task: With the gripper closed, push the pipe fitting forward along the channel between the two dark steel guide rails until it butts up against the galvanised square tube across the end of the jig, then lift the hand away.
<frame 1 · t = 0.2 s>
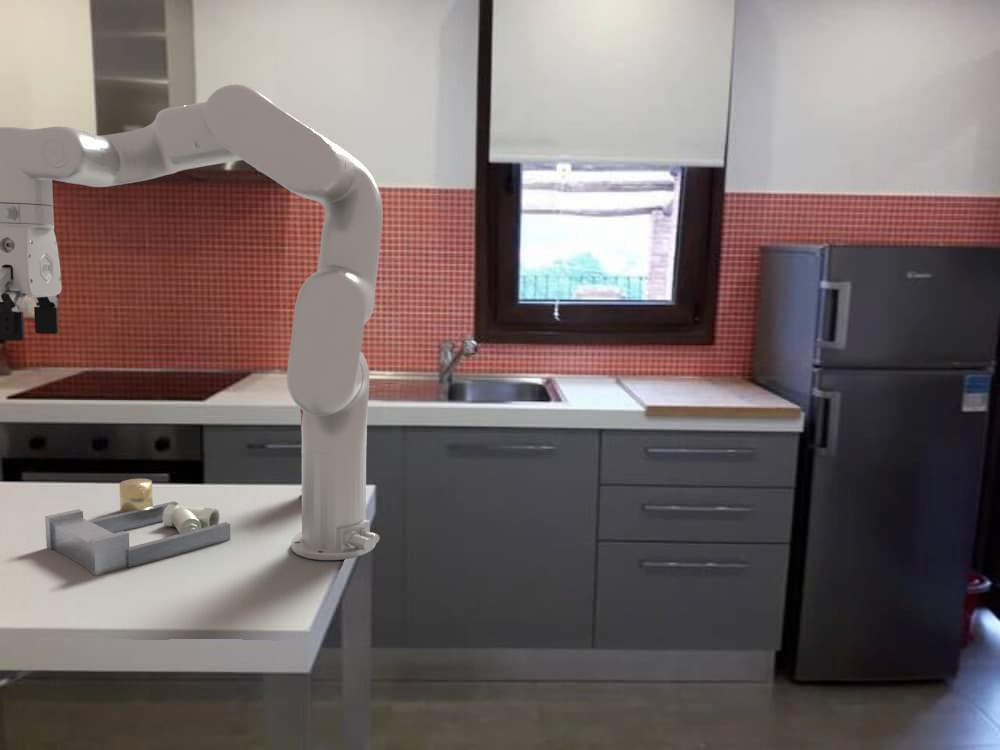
hand: (30, 336, 119), 31 cm above the table, tool pointing down, fingers open, 9 cm apart
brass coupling: (136, 511, 138), on the table
pipe jig: (153, 539, 125), on the table
liquor: (320, 497, 150), on the table
pipe fitting: (185, 533, 129), on the table
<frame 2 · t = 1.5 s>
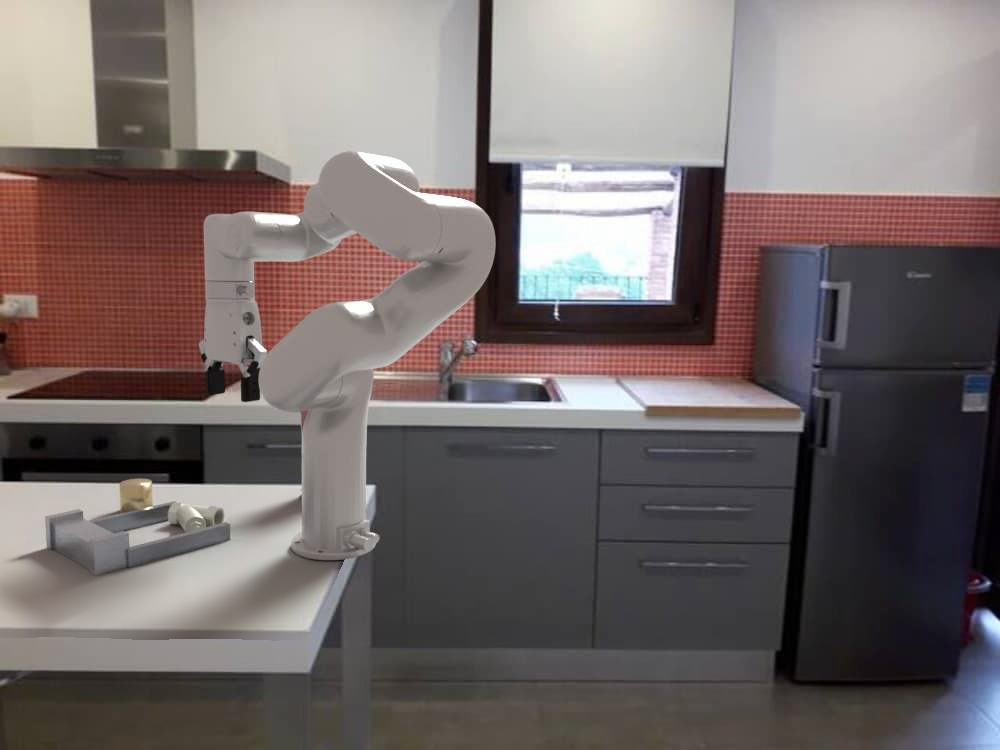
hand: (232, 397, 133), 20 cm above the table, tool pointing down, fingers open, 9 cm apart
pipe fitting: (190, 531, 130), on the table
everything else where it was.
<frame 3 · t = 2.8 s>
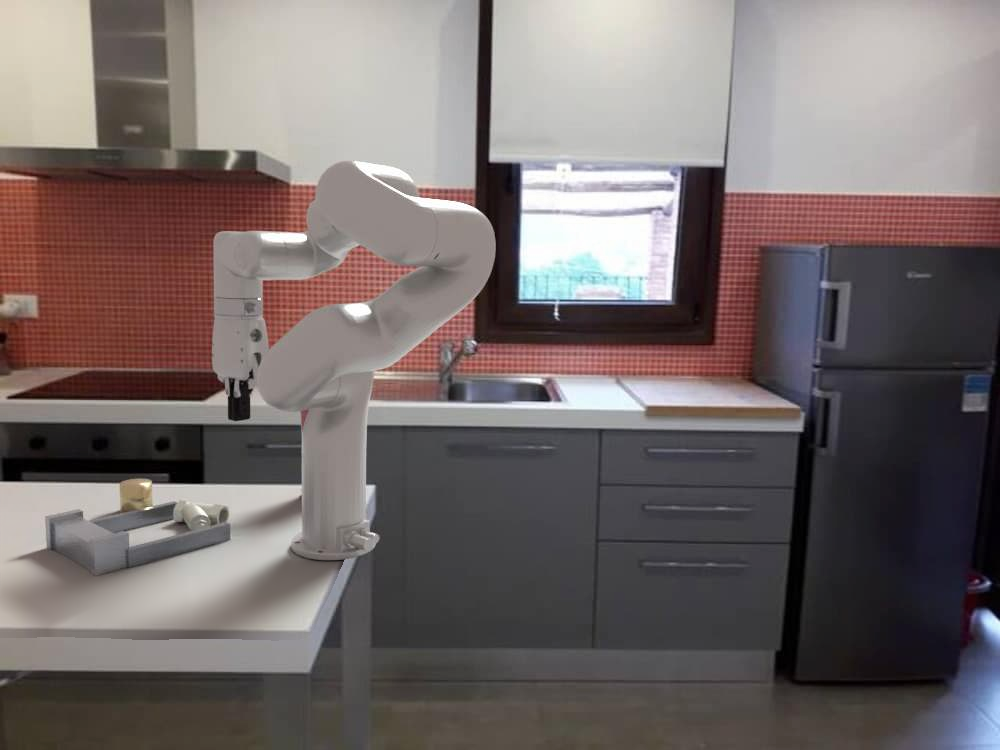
hand: (239, 419, 135), 17 cm above the table, tool pointing down, fingers closed
pipe fitting: (195, 529, 131), on the table
everything else where it was.
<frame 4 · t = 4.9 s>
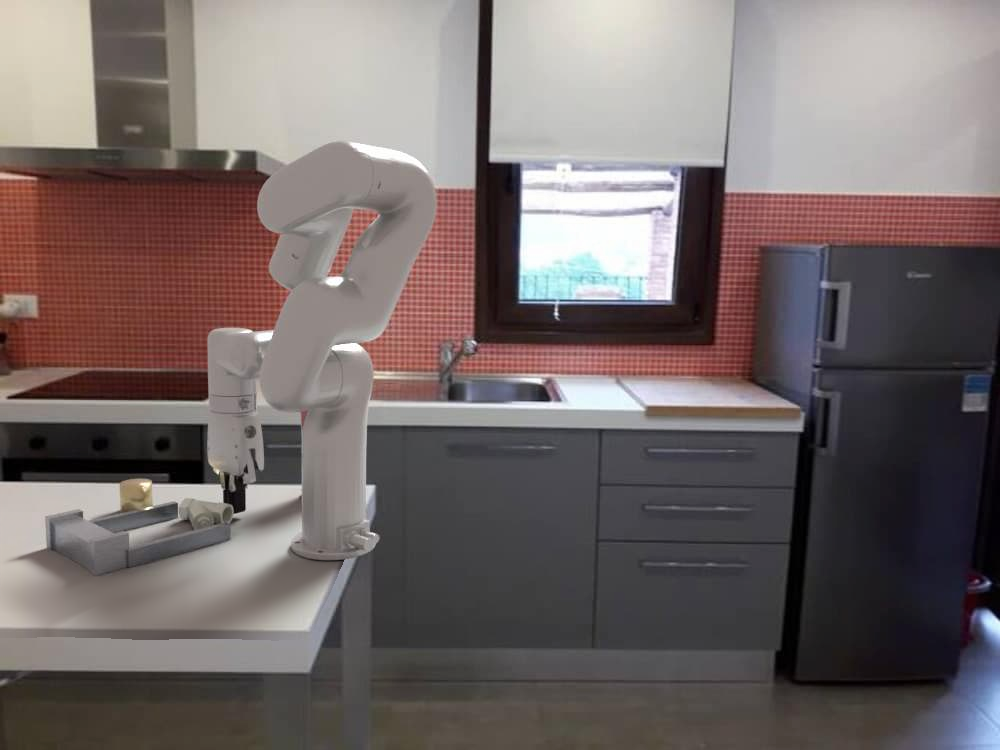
hand: (234, 511, 136), 1 cm above the table, tool pointing down, fingers closed
pipe fitting: (200, 527, 132), on the table
everything else where it was.
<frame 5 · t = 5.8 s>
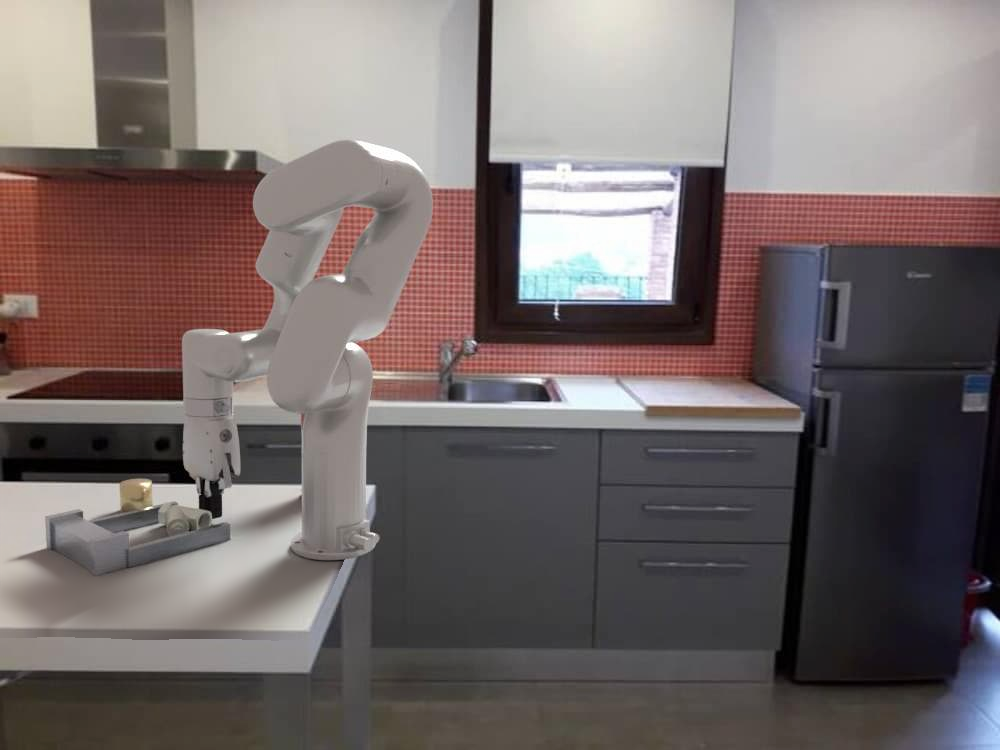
hand: (210, 517, 133), 1 cm above the table, tool pointing down, fingers closed
pipe fitting: (177, 533, 129), on the table, touching gripper
everything else where it was.
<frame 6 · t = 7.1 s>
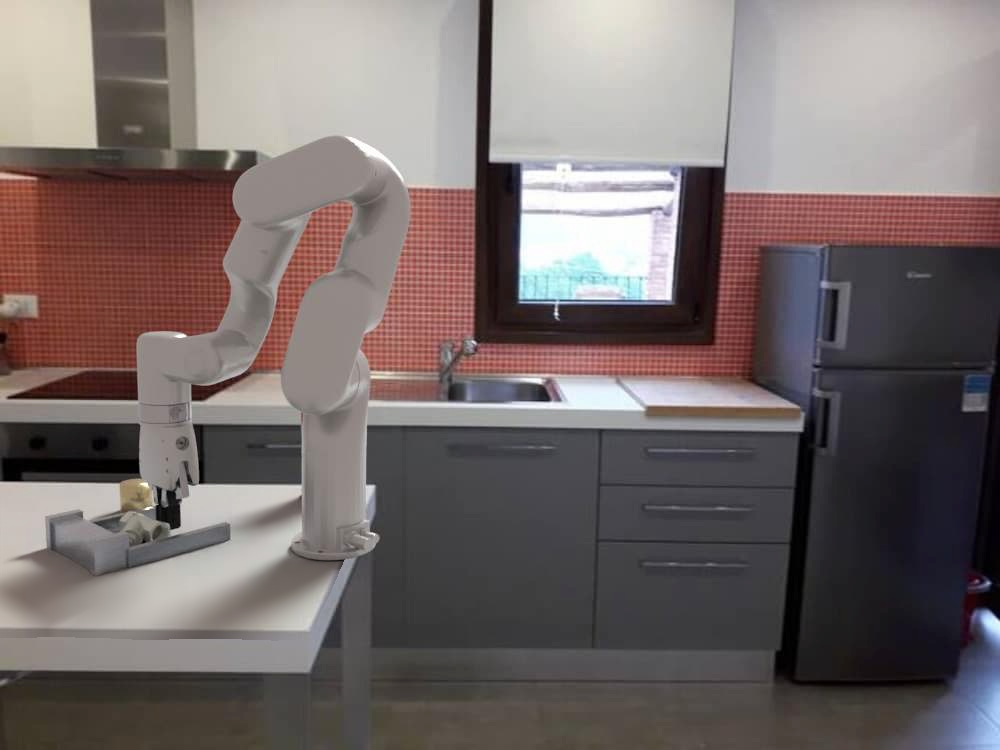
hand: (168, 528, 127), 1 cm above the table, tool pointing down, fingers closed
pipe fitting: (135, 544, 124), on the table
everything else where it was.
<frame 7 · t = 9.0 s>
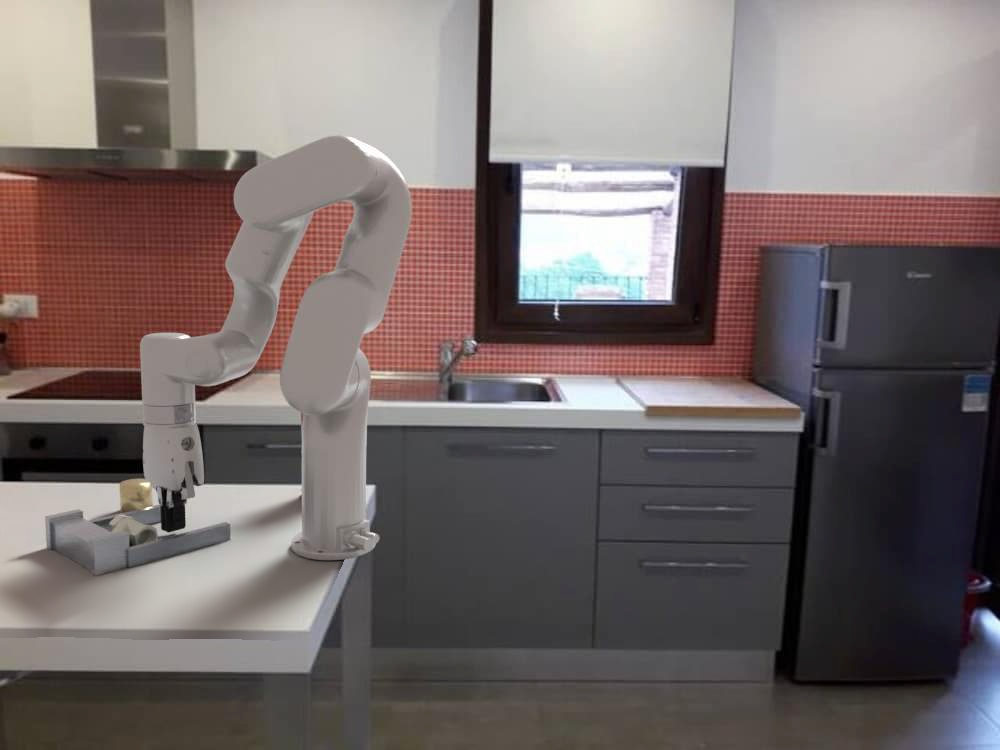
hand: (173, 529, 127), 1 cm above the table, tool pointing down, fingers closed
pipe fitting: (123, 548, 122), on the table
everything else where it was.
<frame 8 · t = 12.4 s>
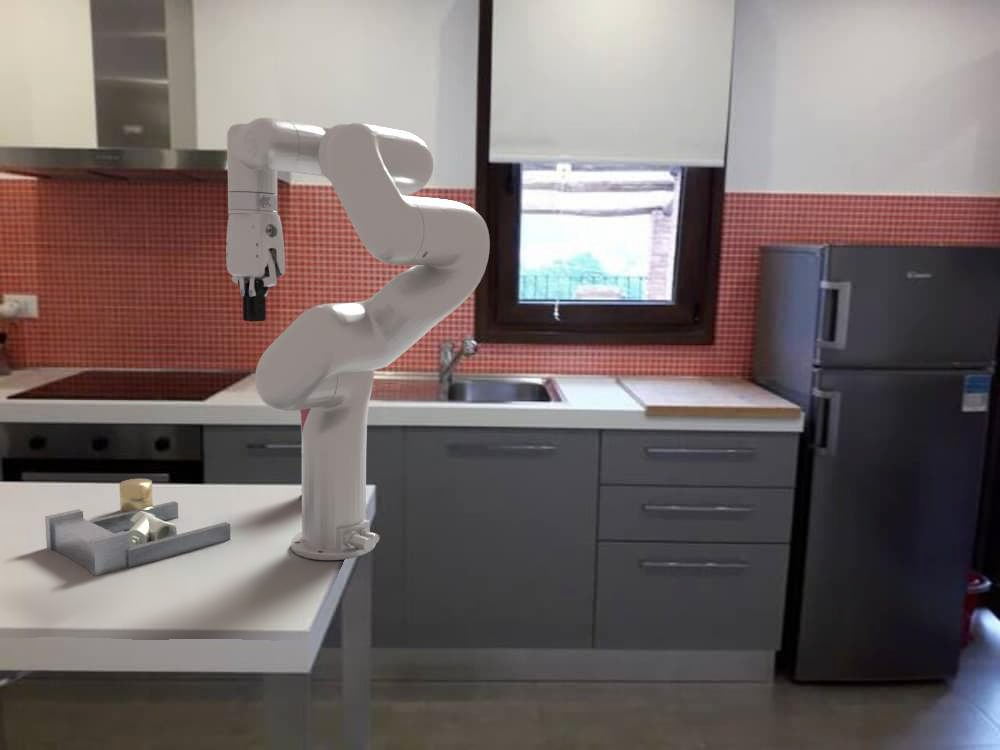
hand: (254, 320, 132), 33 cm above the table, tool pointing down, fingers closed
pipe fitting: (143, 544, 124), on the table
everything else where it was.
at the end: pipe fitting inside the target area on the pipe jig (2.1 cm from its centre), point -0.5 cm above the pipe jig's base; pipe fitting on the table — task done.
